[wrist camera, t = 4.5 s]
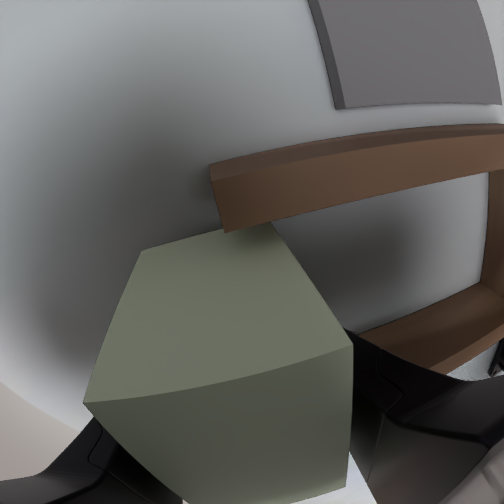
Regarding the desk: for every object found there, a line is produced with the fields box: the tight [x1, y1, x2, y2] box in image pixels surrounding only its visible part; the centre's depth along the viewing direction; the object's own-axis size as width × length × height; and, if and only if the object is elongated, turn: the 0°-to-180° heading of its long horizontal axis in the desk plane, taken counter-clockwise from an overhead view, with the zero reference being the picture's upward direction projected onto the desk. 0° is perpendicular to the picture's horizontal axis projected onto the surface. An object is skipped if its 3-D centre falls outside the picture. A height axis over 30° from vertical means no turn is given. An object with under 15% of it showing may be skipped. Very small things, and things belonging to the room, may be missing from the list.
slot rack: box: [209, 124, 504, 375], centre depth 10 cm, size 10×14×4 cm
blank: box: [83, 222, 353, 504], centre depth 8 cm, size 6×4×6 cm, turn 12°
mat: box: [308, 0, 502, 109], centre depth 7 cm, size 9×9×1 cm
